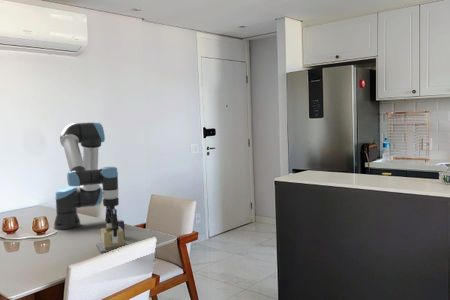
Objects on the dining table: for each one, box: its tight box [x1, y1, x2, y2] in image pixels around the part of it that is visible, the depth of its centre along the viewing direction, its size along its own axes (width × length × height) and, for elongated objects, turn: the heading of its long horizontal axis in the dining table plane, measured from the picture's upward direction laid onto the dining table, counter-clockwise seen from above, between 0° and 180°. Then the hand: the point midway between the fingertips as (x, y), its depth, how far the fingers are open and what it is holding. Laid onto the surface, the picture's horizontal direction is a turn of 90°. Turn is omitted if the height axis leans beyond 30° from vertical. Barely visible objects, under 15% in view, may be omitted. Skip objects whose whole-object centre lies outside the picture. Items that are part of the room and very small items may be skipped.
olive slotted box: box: [100, 226, 125, 249], centre depth 210 cm, size 10×10×8 cm
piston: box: [95, 240, 129, 254], centre depth 210 cm, size 14×14×6 cm
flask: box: [117, 219, 125, 237], centre depth 227 cm, size 9×3×11 cm, turn 109°
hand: (112, 239), depth 210 cm, fingers open, 13 cm apart
